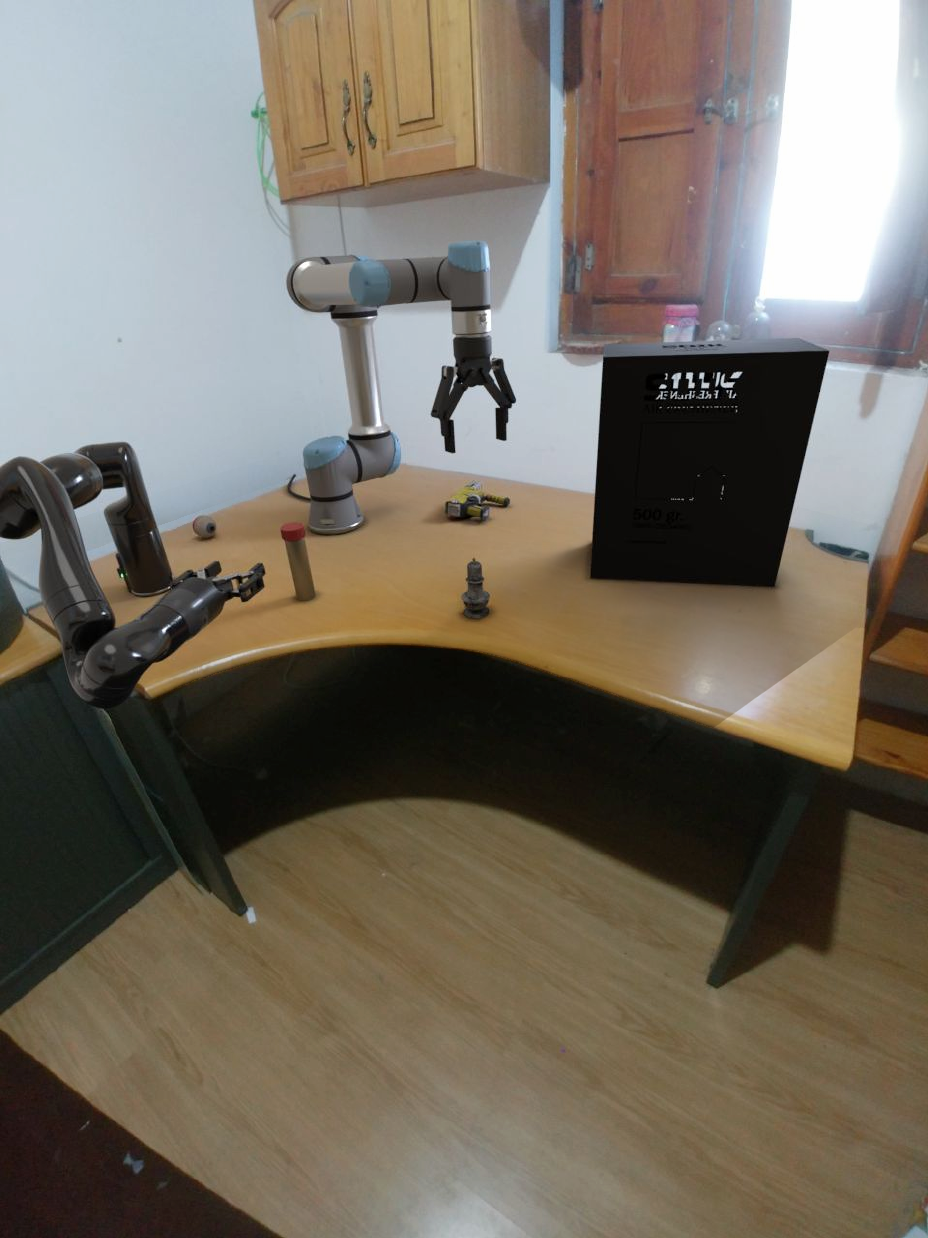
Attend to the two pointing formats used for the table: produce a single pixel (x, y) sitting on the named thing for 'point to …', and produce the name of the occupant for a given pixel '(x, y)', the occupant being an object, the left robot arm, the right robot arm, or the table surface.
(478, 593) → the dark grey chess piece
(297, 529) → the lid
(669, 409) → the cardboard box
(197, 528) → the eyeball
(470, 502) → the toy gun
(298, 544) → the bottle
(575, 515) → the table surface
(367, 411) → the right robot arm
